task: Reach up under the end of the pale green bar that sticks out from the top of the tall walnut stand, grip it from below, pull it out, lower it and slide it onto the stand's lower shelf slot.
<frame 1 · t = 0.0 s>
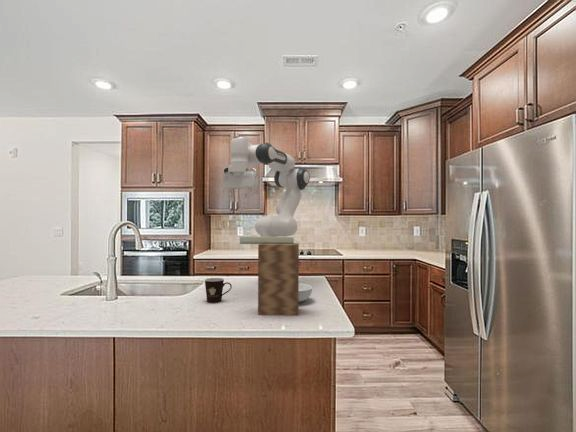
hand: (239, 198, 171), 48 cm above the table, tool pointing down, fingers open, 8 cm apart
pale green bar: (267, 243, 146), point 28 cm above the table, touching stand
stand: (278, 311, 146), on the table
serving bowl: (289, 301, 165), on the table
coffee mug: (216, 302, 162), on the table
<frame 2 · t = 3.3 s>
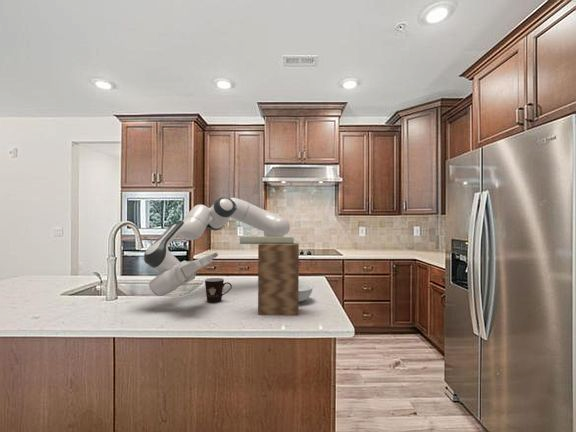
hand: (214, 255, 147), 23 cm above the table, tool pointing upward, fingers open, 8 cm apart
nothing on the table moved.
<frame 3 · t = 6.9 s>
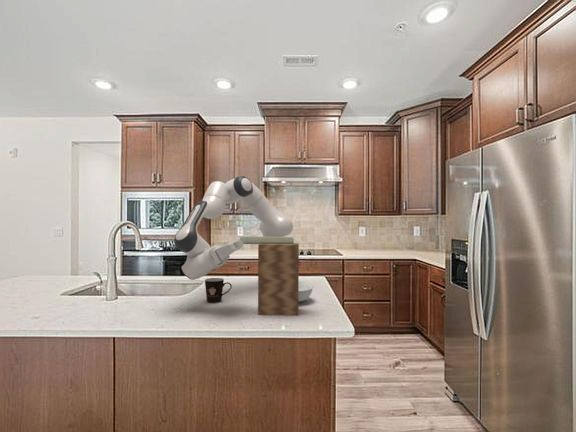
hand: (247, 238, 147), 30 cm above the table, tool pointing upward, fingers closed on pale green bar, 4 cm apart
pale green bar: (267, 243, 146), point 28 cm above the table, touching gripper, stand
everything else where it was.
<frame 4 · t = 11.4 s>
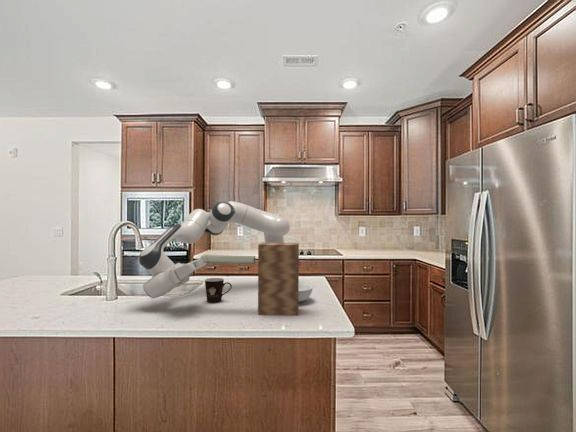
hand: (208, 257, 147), 22 cm above the table, tool pointing upward, fingers closed on pale green bar, 4 cm apart
pale green bar: (228, 262, 147), point 20 cm above the table, touching gripper
everything else where it was.
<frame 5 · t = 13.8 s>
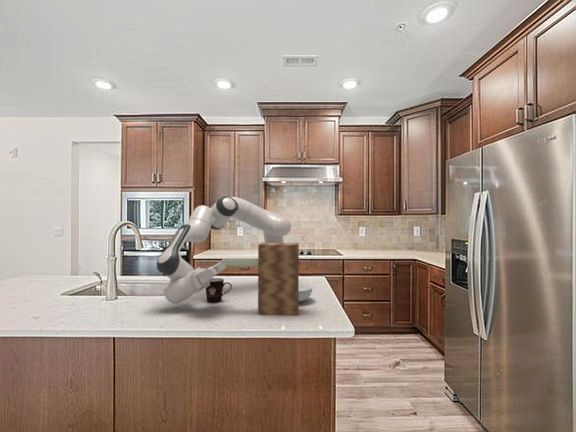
hand: (229, 261, 146), 21 cm above the table, tool pointing upward, fingers closed on pale green bar, 4 cm apart
pale green bar: (249, 266, 146), point 19 cm above the table, touching gripper
everything else where it was.
when the fingers open (20 cm above the table, at t = 16.0 s): pale green bar drops 2 cm, resting on stand.
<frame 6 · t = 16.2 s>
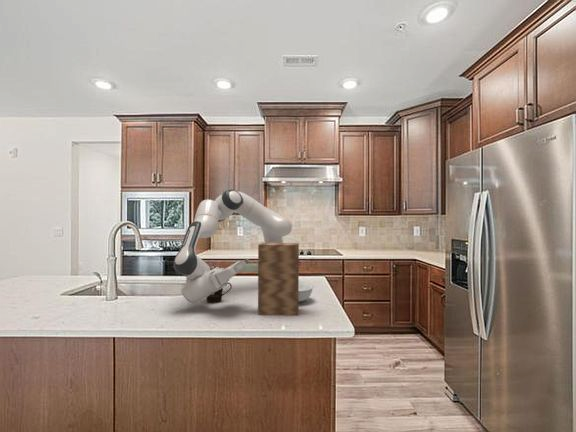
hand: (247, 261, 147), 20 cm above the table, tool pointing upward, fingers open, 6 cm apart
pale green bar: (266, 271, 146), point 16 cm above the table, touching stand
everything else where it was.
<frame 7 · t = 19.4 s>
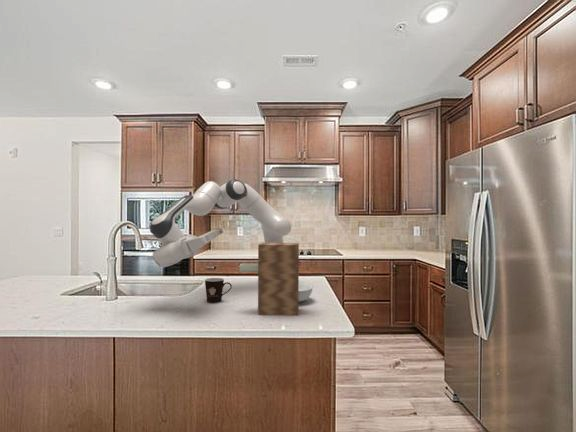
hand: (220, 232, 147), 33 cm above the table, tool pointing upward, fingers open, 8 cm apart
nothing on the table moved.
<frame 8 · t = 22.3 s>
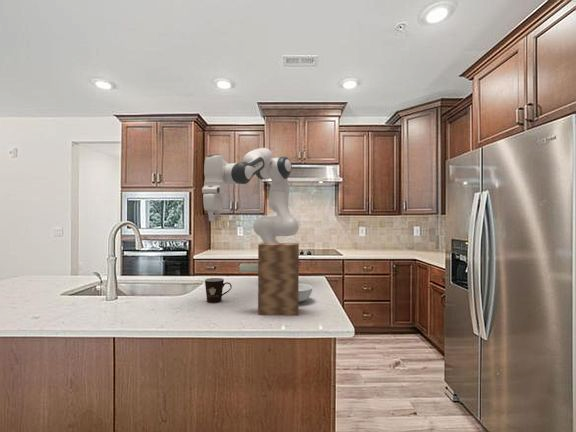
hand: (214, 220, 159), 37 cm above the table, tool pointing down, fingers open, 8 cm apart
nothing on the table moved.
at the end: pale green bar inside the target area on the stand (0.1 cm from its centre), point 16.5 cm above the stand's base; the gripper is holding nothing; pale green bar tilted 0° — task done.
